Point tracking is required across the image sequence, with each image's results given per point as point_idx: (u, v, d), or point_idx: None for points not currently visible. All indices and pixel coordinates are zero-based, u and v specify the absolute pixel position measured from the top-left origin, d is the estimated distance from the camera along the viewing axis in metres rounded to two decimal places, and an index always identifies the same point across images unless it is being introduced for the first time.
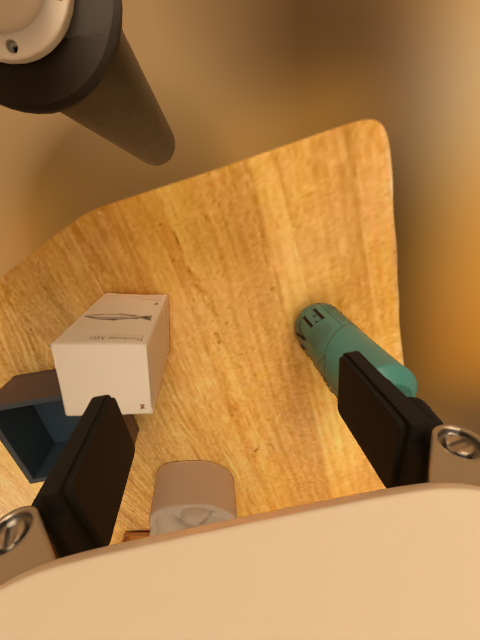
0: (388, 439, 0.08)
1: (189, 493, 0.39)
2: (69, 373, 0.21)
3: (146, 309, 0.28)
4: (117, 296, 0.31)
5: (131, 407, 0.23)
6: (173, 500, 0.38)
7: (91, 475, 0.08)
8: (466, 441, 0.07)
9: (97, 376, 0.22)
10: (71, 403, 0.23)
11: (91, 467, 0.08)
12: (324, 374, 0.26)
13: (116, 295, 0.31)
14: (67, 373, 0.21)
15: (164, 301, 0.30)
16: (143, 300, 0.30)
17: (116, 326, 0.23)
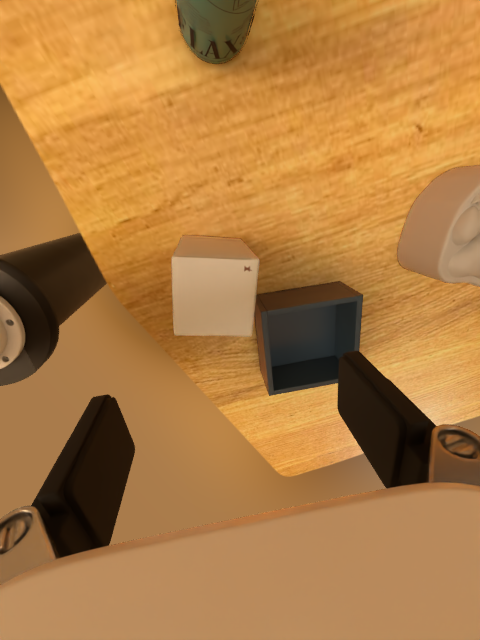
0: (388, 439, 0.08)
1: (436, 231, 0.31)
2: (204, 326, 0.24)
3: None
4: None
5: (246, 279, 0.23)
6: (435, 251, 0.31)
7: (91, 475, 0.08)
8: (466, 441, 0.07)
9: (207, 304, 0.23)
10: (237, 330, 0.25)
11: (91, 467, 0.08)
12: None
13: None
14: (203, 327, 0.24)
15: (181, 238, 0.30)
16: None
17: None
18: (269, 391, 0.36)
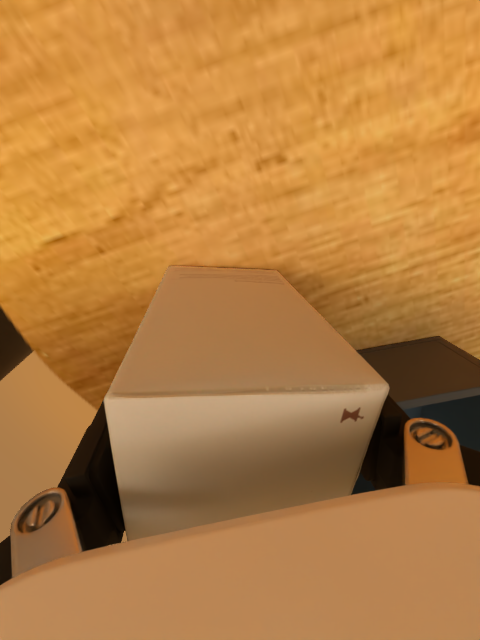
0: None
1: None
2: None
3: None
4: None
5: (343, 441, 0.08)
6: None
7: (112, 460, 0.08)
8: (435, 432, 0.07)
9: (224, 504, 0.08)
10: None
11: None
12: None
13: None
14: None
15: (164, 277, 0.15)
16: None
17: None
18: None
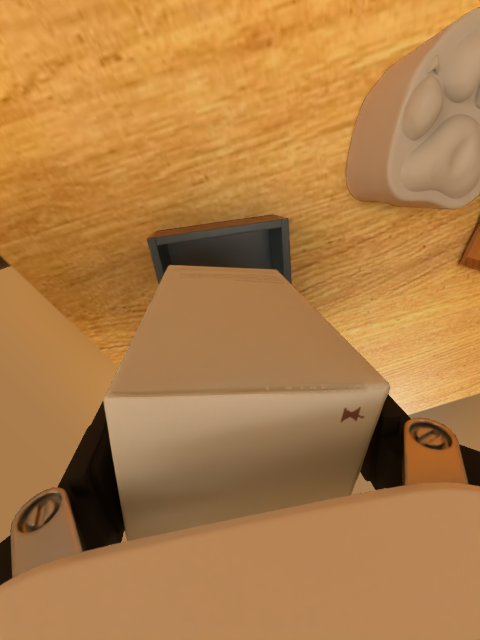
0: None
1: (384, 125, 0.22)
2: None
3: None
4: None
5: (343, 441, 0.07)
6: (383, 153, 0.22)
7: (112, 461, 0.08)
8: (435, 432, 0.07)
9: (224, 504, 0.08)
10: None
11: None
12: None
13: None
14: None
15: (163, 276, 0.15)
16: None
17: None
18: None
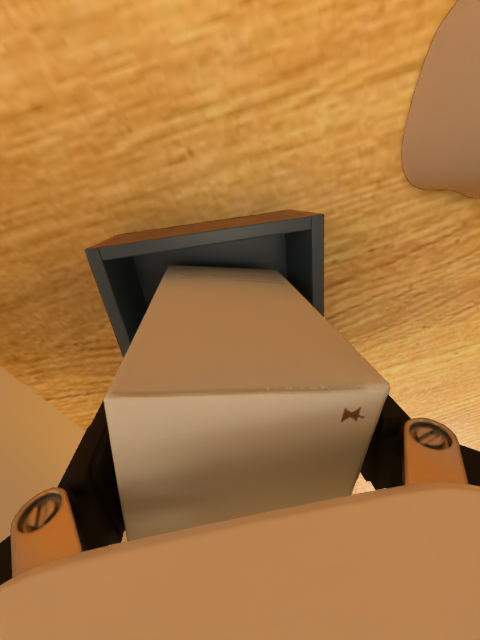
0: None
1: None
2: None
3: None
4: None
5: (344, 441, 0.07)
6: None
7: (112, 461, 0.08)
8: (435, 432, 0.07)
9: (224, 504, 0.08)
10: None
11: None
12: None
13: None
14: None
15: (163, 276, 0.15)
16: None
17: None
18: None
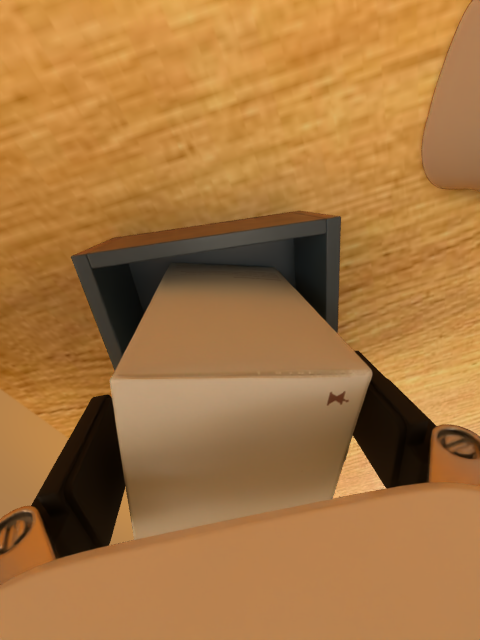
0: (388, 439, 0.08)
1: None
2: (210, 521, 0.09)
3: None
4: None
5: (330, 423, 0.08)
6: None
7: (91, 475, 0.08)
8: (466, 441, 0.07)
9: (219, 482, 0.09)
10: None
11: (91, 467, 0.08)
12: None
13: None
14: None
15: (165, 273, 0.16)
16: None
17: None
18: None
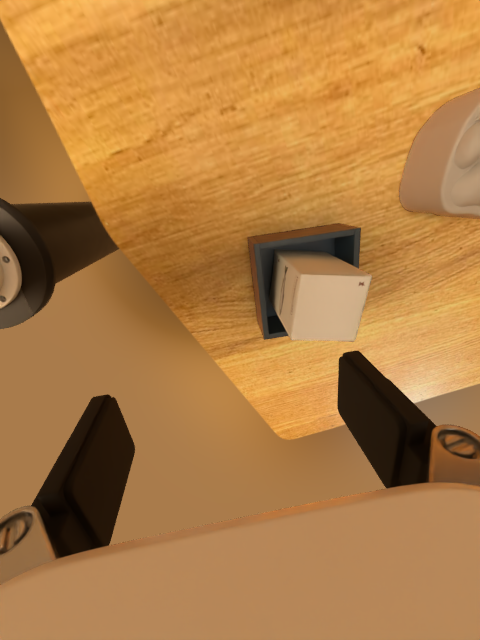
0: (388, 439, 0.08)
1: (438, 157, 0.29)
2: (317, 332, 0.28)
3: (280, 270, 0.32)
4: (271, 290, 0.37)
5: (359, 293, 0.27)
6: (437, 178, 0.29)
7: (91, 475, 0.08)
8: (466, 441, 0.07)
9: (323, 314, 0.27)
10: (343, 335, 0.28)
11: (91, 467, 0.08)
12: None
13: (271, 291, 0.38)
14: (316, 333, 0.28)
15: (278, 253, 0.34)
16: (275, 270, 0.35)
17: (287, 295, 0.29)
18: (264, 334, 0.36)
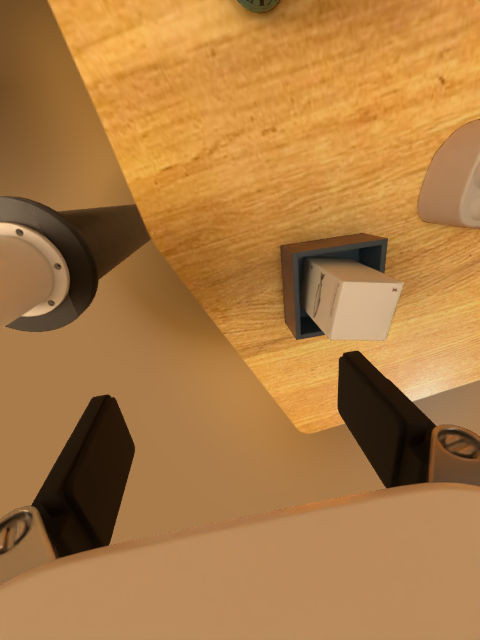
0: (388, 439, 0.08)
1: (457, 176, 0.33)
2: (353, 333, 0.31)
3: (315, 276, 0.36)
4: (301, 294, 0.41)
5: (392, 298, 0.30)
6: (457, 195, 0.33)
7: (91, 475, 0.08)
8: (466, 441, 0.07)
9: (360, 316, 0.30)
10: (376, 336, 0.32)
11: (91, 467, 0.08)
12: None
13: (300, 295, 0.41)
14: (352, 334, 0.31)
15: (310, 260, 0.38)
16: (307, 276, 0.38)
17: (325, 299, 0.32)
18: (296, 335, 0.39)
